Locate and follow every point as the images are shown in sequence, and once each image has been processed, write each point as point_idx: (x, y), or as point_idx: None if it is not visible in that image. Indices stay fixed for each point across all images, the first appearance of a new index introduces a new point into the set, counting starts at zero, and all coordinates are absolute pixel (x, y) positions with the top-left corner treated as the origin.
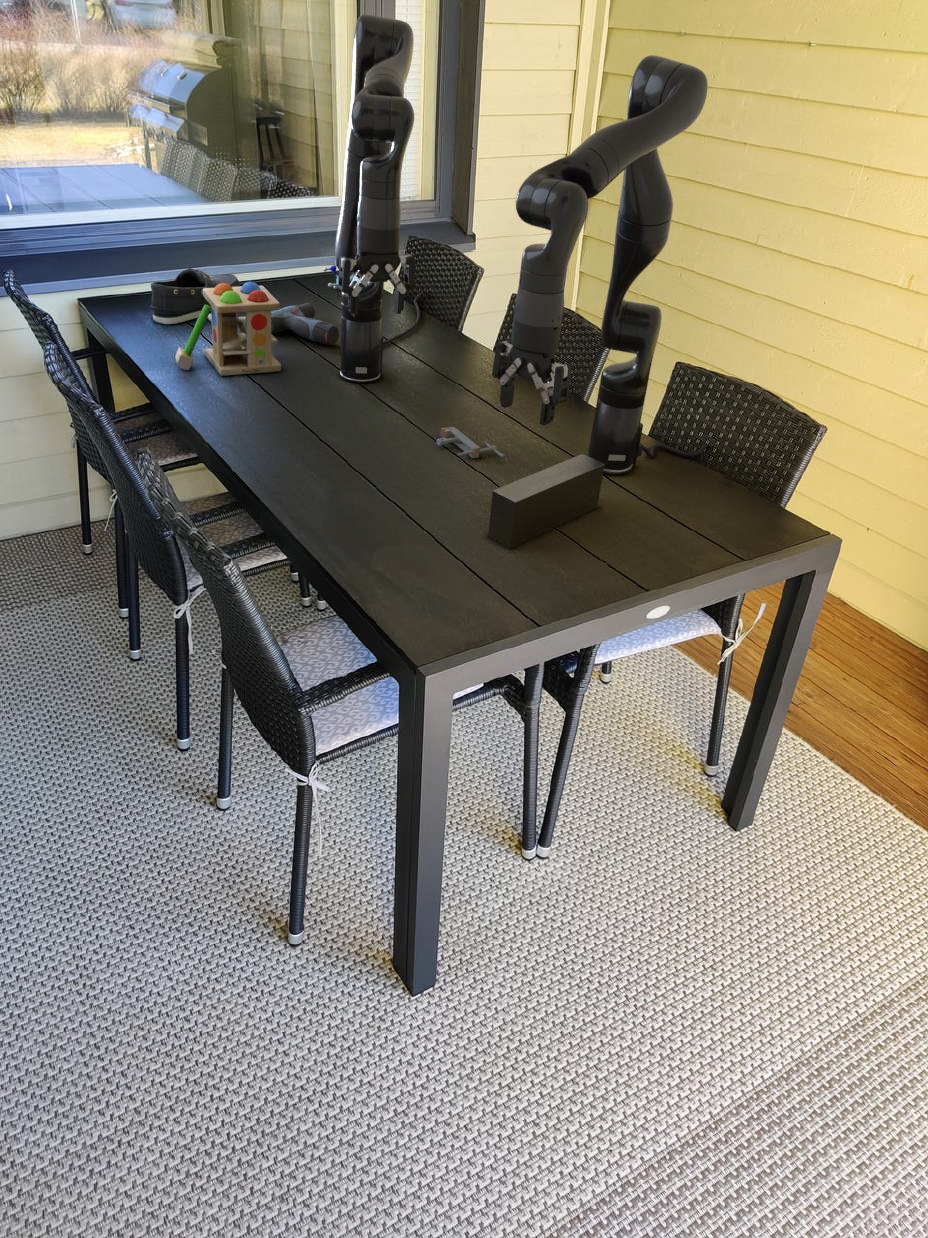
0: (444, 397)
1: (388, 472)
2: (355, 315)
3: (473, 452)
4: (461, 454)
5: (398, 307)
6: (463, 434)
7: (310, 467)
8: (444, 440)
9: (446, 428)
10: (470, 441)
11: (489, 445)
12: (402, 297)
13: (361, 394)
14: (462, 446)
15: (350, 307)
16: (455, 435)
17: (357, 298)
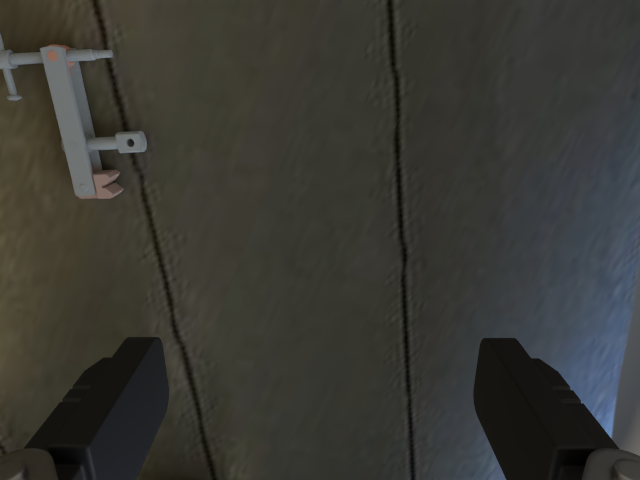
0: (46, 387)
1: (322, 41)
2: (510, 338)
3: (66, 49)
4: (103, 50)
5: (135, 361)
6: (63, 143)
7: (490, 128)
8: (125, 136)
9: (98, 192)
10: (56, 94)
11: (8, 77)
12: (55, 433)
13: (228, 438)
14: (83, 114)
15: (572, 392)
16: (86, 149)
17: (562, 435)
